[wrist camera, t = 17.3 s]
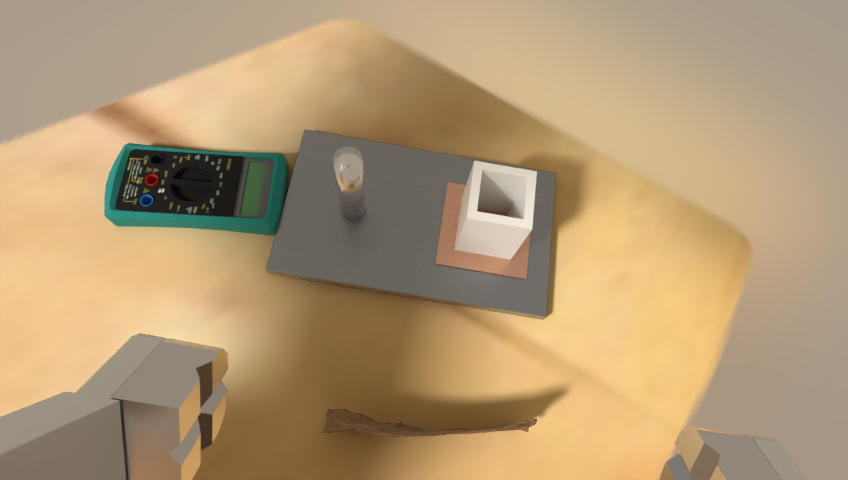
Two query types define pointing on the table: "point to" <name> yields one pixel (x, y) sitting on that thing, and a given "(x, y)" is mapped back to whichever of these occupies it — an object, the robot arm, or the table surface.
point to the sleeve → (496, 210)
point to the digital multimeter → (197, 189)
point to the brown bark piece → (397, 426)
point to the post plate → (403, 227)
